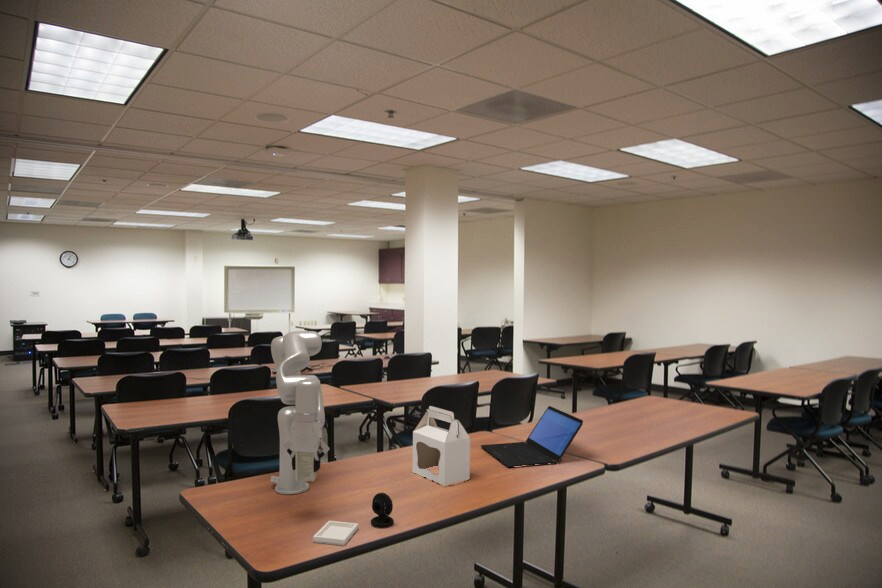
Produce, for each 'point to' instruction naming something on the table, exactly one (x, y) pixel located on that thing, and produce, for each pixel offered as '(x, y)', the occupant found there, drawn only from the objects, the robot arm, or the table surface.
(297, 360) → the robot arm
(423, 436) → the gable box
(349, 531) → the tray
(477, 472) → the table surface
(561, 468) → the table surface
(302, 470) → the skincare box
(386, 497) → the webcam
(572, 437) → the laptop
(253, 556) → the table surface
